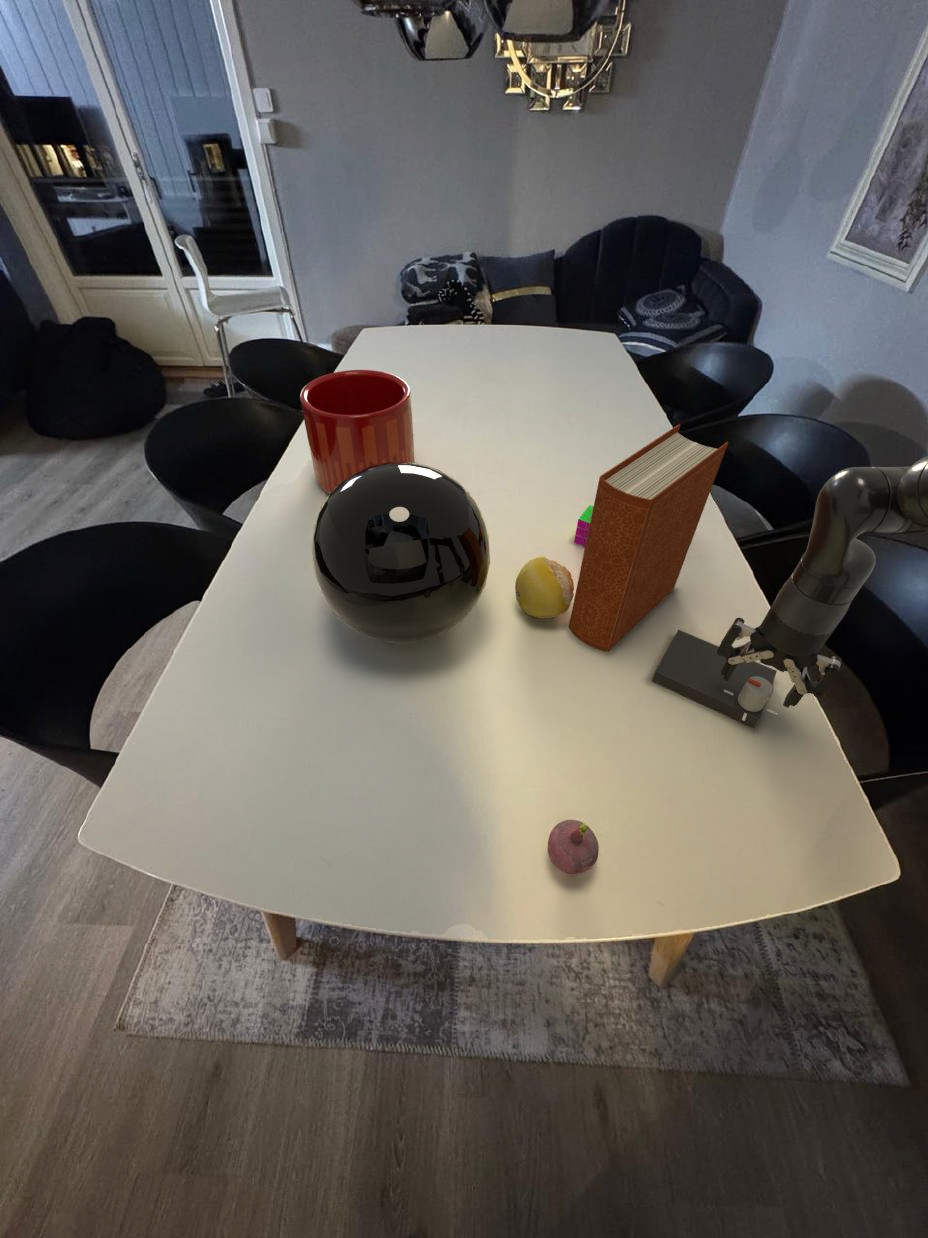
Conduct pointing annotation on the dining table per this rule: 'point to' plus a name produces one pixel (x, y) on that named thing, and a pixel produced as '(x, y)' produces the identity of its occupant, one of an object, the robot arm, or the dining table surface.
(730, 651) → the robot arm
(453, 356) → the dining table surface
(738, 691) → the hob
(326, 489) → the planter
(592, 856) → the vegetable
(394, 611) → the ball
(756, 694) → the burner knob
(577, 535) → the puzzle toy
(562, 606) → the fruit
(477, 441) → the dining table surface
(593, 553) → the book
